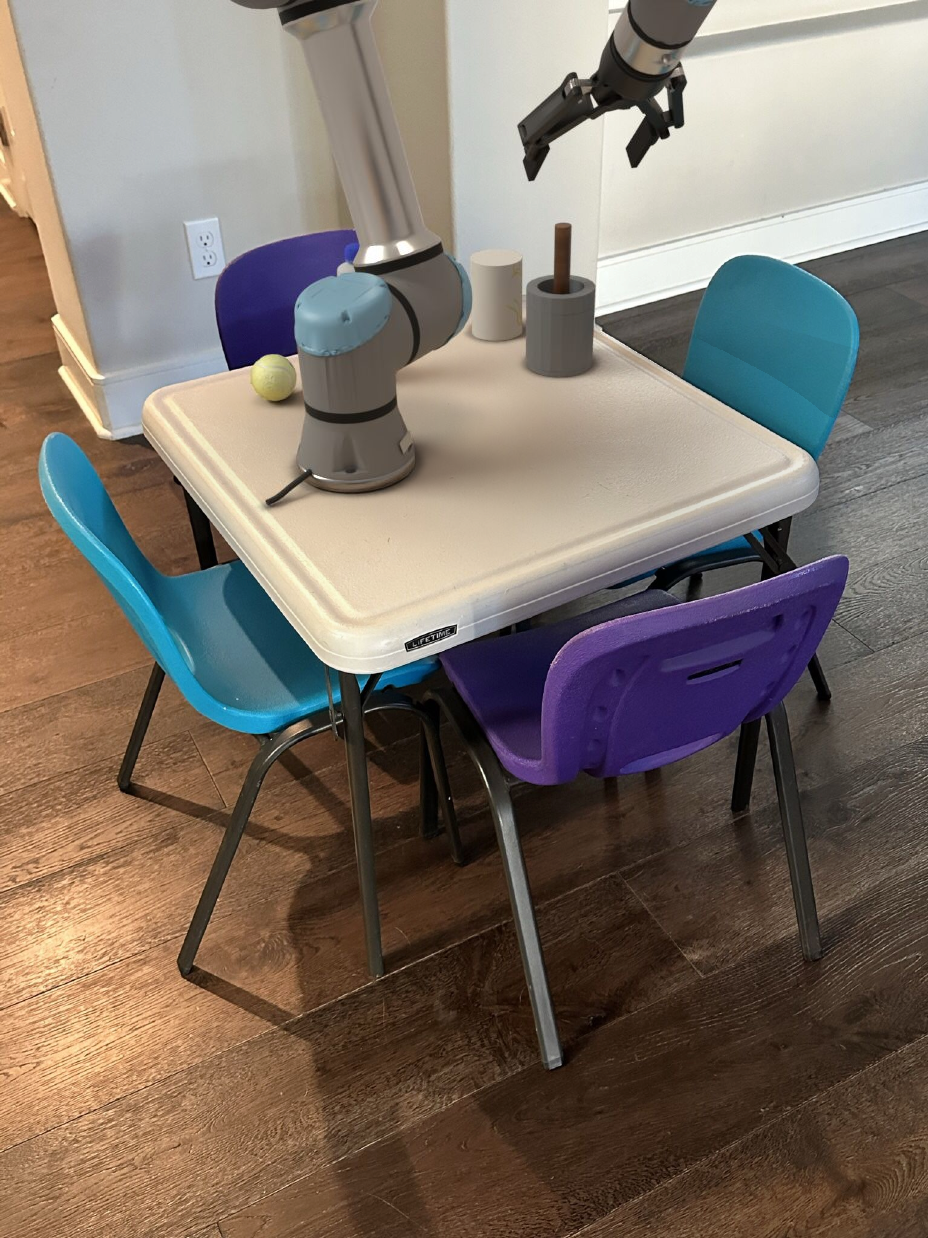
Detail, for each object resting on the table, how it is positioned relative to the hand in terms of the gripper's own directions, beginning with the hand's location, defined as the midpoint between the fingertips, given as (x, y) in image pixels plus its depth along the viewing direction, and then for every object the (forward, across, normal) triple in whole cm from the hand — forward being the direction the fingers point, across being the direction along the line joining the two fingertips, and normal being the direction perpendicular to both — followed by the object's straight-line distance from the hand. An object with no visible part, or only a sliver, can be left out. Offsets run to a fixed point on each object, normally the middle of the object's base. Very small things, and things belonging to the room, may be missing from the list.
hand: (580, 164), depth 136 cm
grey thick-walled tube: (+37, +6, -11) cm, 39 cm away
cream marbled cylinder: (+48, +2, 0) cm, 48 cm away
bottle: (+41, -22, -6) cm, 48 cm away
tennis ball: (+40, -37, -8) cm, 55 cm away
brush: (+36, +6, -10) cm, 38 cm away
